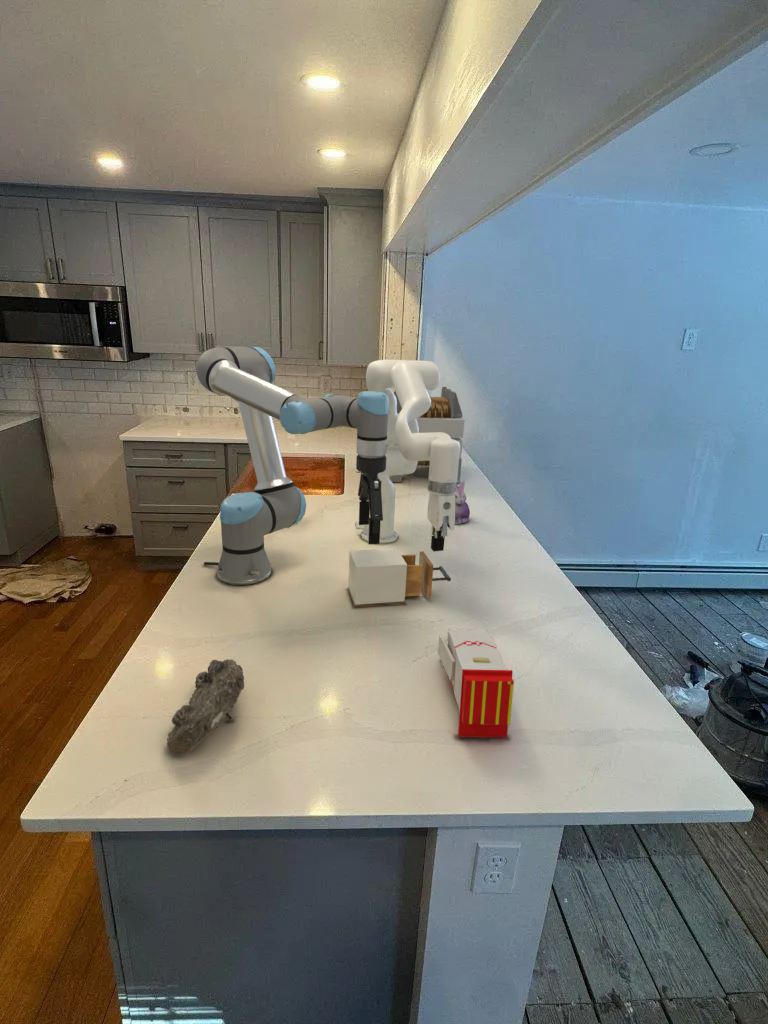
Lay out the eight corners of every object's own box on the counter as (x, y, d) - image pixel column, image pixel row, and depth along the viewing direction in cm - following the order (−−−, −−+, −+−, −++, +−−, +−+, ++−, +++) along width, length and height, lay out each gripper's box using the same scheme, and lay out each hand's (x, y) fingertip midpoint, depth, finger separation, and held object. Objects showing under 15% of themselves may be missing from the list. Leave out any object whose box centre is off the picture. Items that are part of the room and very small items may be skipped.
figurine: (455, 526, 209) (459, 487, 204) (440, 517, 217) (443, 479, 212) (476, 523, 213) (480, 485, 208) (460, 514, 221) (464, 477, 216)
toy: (488, 613, 130) (523, 677, 101) (484, 667, 133) (517, 744, 104) (435, 612, 130) (455, 676, 101) (432, 666, 133) (451, 743, 103)
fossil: (192, 660, 117) (244, 628, 112) (224, 691, 120) (276, 661, 115) (142, 746, 98) (202, 712, 93) (182, 779, 101) (242, 748, 96)
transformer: (382, 463, 289) (386, 382, 275) (445, 464, 293) (451, 384, 279) (390, 482, 257) (394, 392, 243) (460, 483, 261) (468, 394, 247)
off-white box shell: (395, 586, 162) (397, 548, 158) (404, 604, 153) (407, 564, 149) (348, 589, 159) (349, 550, 155) (354, 607, 150) (356, 567, 146)
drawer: (440, 581, 164) (442, 550, 161) (450, 596, 156) (453, 564, 152) (379, 584, 160) (381, 553, 157) (387, 600, 152) (389, 568, 148)
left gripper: (398, 468, 131) (393, 552, 138) (375, 443, 154) (373, 516, 161) (366, 468, 129) (363, 553, 137) (348, 443, 152) (347, 517, 159)
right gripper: (465, 494, 143) (459, 560, 149) (446, 477, 157) (441, 538, 163) (437, 495, 141) (432, 562, 147) (420, 478, 155) (416, 540, 161)
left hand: (368, 533), depth 149 cm, fingers open, 13 cm apart
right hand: (437, 549), depth 155 cm, fingers closed
